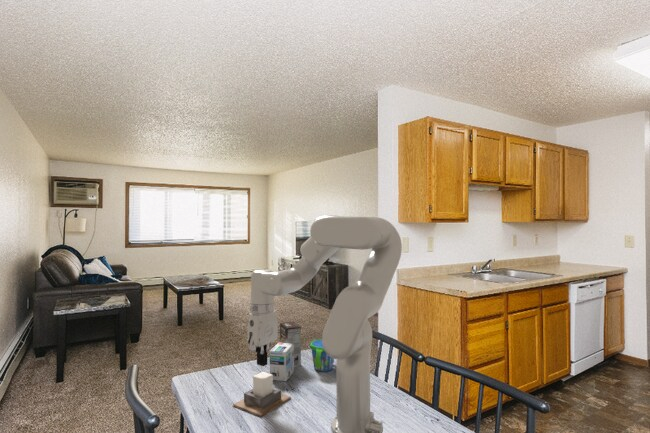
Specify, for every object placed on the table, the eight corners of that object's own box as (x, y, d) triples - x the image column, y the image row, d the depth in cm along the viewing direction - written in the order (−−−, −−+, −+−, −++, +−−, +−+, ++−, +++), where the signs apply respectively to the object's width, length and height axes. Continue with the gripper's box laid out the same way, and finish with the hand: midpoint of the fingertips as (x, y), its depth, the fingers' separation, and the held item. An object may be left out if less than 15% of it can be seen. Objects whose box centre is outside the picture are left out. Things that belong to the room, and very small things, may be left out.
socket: (290, 398, 120) (290, 388, 120) (261, 417, 108) (261, 405, 108) (264, 389, 126) (264, 379, 127) (233, 406, 115) (233, 395, 115)
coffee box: (279, 360, 154) (279, 322, 154) (293, 358, 156) (293, 320, 157) (286, 368, 145) (286, 328, 146) (301, 365, 148) (301, 326, 148)
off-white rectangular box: (272, 399, 118) (272, 374, 118) (263, 405, 114) (263, 379, 115) (262, 395, 120) (262, 371, 121) (253, 401, 117) (253, 376, 117)
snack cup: (328, 378, 136) (328, 350, 136) (303, 374, 140) (303, 347, 140) (342, 363, 150) (342, 338, 151) (318, 360, 154) (318, 336, 154)
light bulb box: (286, 381, 133) (286, 352, 133) (268, 380, 134) (268, 350, 135) (294, 370, 143) (294, 342, 144) (278, 369, 145) (278, 341, 145)
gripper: (254, 314, 110) (253, 375, 109) (286, 305, 122) (285, 360, 122) (237, 310, 114) (236, 369, 114) (269, 302, 126) (269, 355, 126)
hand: (262, 364), depth 118 cm, fingers closed
